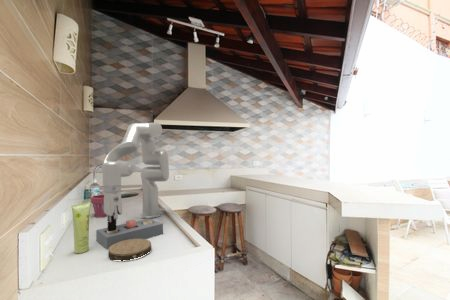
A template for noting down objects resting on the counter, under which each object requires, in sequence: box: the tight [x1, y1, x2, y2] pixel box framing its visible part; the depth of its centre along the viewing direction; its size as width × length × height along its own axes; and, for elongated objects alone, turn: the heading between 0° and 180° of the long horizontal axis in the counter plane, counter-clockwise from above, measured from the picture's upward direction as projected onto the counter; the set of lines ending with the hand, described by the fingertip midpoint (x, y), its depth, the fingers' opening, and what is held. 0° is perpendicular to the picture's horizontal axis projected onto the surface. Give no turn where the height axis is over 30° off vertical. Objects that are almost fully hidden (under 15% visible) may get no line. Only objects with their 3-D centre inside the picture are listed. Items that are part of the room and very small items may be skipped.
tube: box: [71, 201, 91, 254], centre depth 95 cm, size 6×5×20 cm
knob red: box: [125, 219, 137, 229], centre depth 111 cm, size 4×4×4 cm
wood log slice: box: [107, 239, 152, 261], centre depth 93 cm, size 16×16×3 cm
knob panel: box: [95, 218, 164, 250], centre depth 111 cm, size 26×14×5 cm, turn 135°
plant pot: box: [90, 194, 107, 218], centre depth 152 cm, size 14×14×13 cm
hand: (111, 230), depth 104 cm, fingers closed
